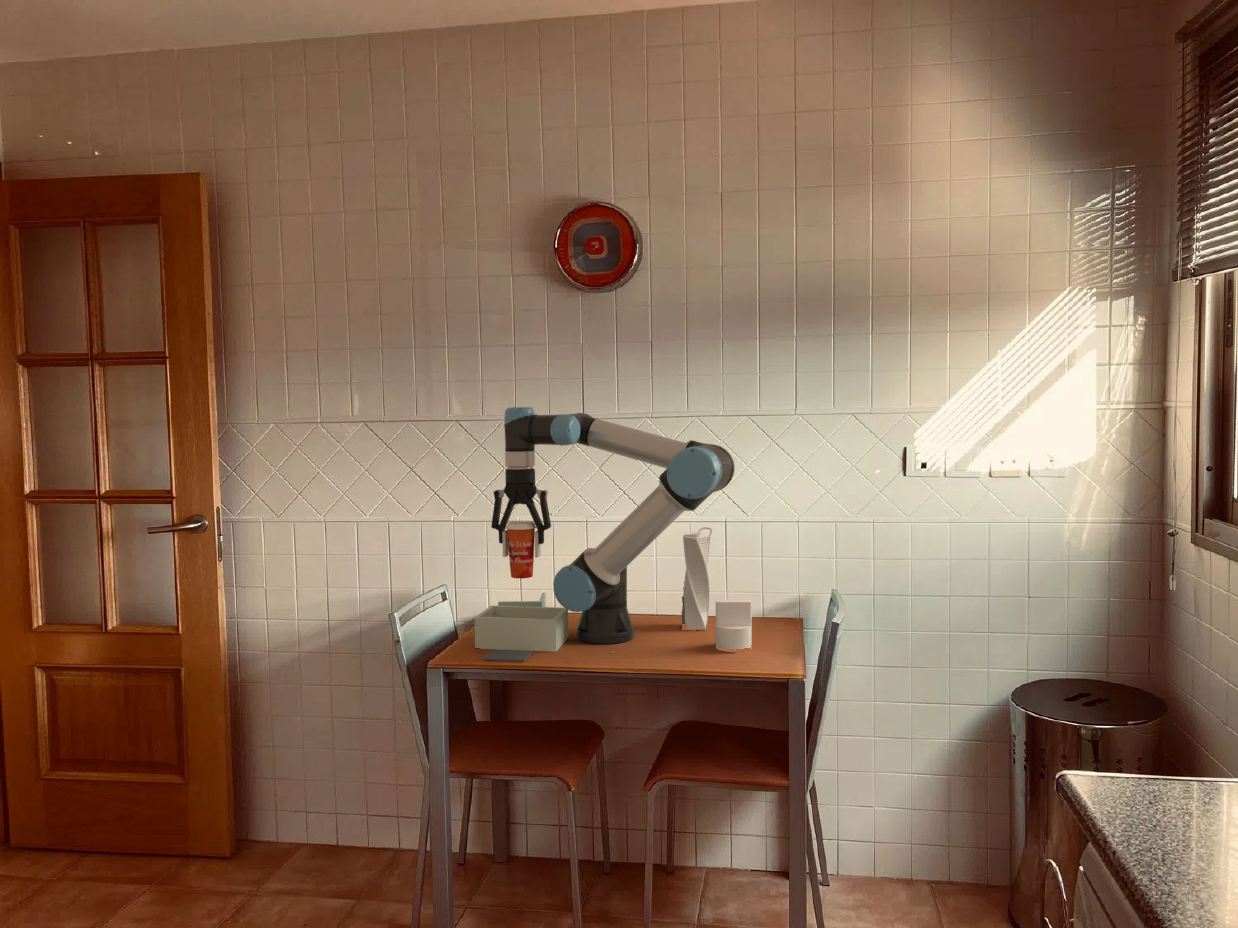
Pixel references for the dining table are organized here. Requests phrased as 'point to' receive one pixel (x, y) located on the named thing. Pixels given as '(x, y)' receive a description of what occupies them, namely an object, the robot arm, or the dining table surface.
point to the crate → (521, 628)
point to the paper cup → (521, 548)
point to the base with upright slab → (733, 624)
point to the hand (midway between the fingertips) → (521, 556)
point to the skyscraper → (696, 581)
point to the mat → (508, 655)
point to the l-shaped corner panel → (525, 603)
